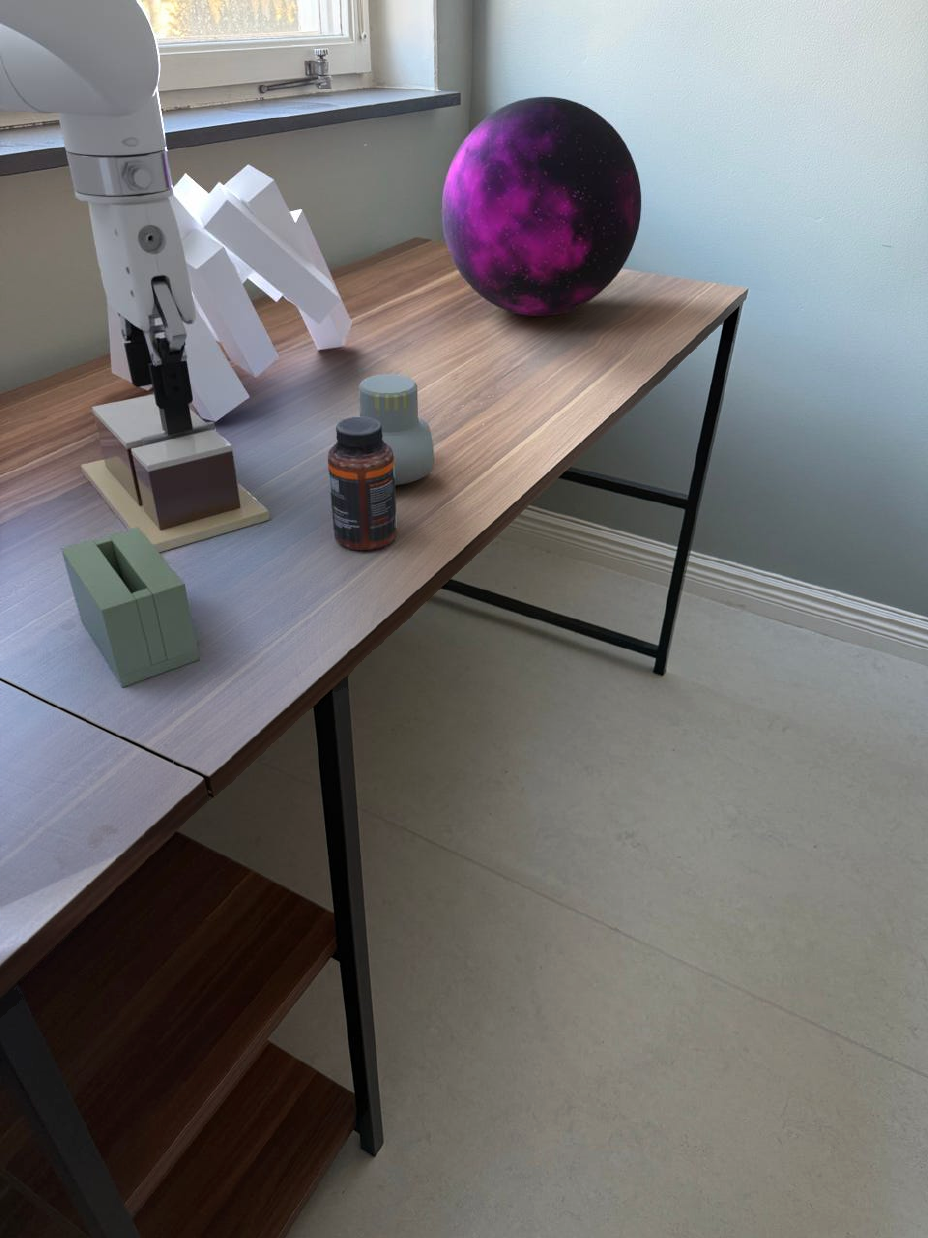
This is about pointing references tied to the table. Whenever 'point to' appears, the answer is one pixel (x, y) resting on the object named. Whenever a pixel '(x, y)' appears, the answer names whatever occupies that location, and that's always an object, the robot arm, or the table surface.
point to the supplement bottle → (362, 485)
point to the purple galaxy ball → (541, 206)
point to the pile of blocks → (241, 284)
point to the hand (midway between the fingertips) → (162, 392)
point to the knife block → (131, 605)
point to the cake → (168, 477)
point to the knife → (176, 425)
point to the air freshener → (399, 423)
